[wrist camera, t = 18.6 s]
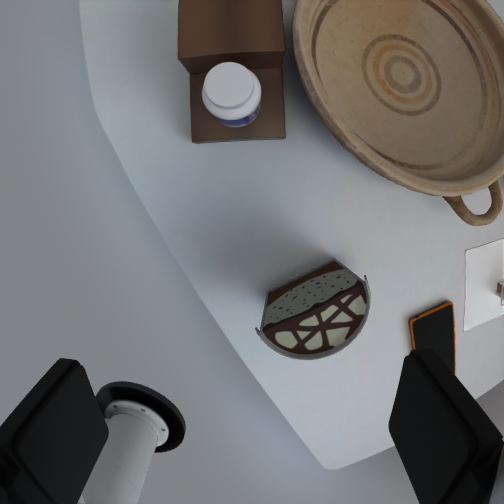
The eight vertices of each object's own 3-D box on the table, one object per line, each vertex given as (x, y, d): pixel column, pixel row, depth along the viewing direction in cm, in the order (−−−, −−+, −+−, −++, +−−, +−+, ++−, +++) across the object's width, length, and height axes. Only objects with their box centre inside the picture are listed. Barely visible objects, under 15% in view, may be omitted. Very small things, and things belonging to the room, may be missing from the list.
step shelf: (196, 143, 35) (179, 139, 27) (193, 22, 31) (178, -7, 23) (283, 139, 35) (290, 132, 27) (276, 16, 30) (280, -15, 23)
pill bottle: (259, 128, 32) (259, 116, 24) (210, 127, 32) (193, 115, 24) (262, 82, 31) (262, 55, 22) (213, 80, 31) (198, 55, 22)
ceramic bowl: (514, 173, 34) (560, 181, 24) (363, 257, 38) (393, 287, 29) (405, -47, 25) (431, -79, 16) (227, -4, 30) (217, -46, 20)
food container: (277, 334, 41) (281, 381, 32) (256, 296, 40) (254, 337, 30) (363, 293, 39) (389, 331, 30) (345, 252, 38) (371, 282, 28)
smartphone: (416, 396, 44) (418, 400, 43) (407, 318, 40) (409, 321, 39) (454, 378, 43) (456, 381, 43) (451, 298, 39) (454, 300, 38)
